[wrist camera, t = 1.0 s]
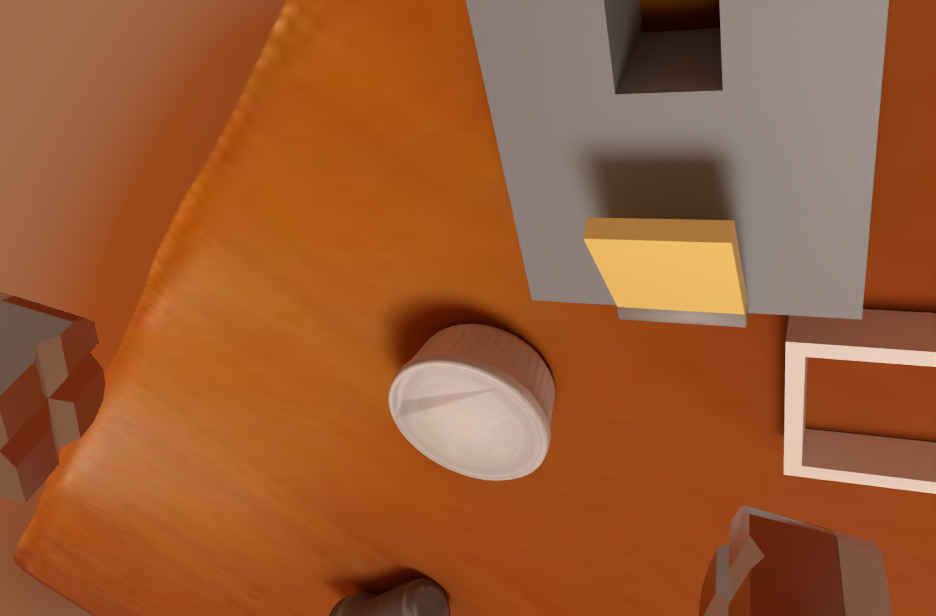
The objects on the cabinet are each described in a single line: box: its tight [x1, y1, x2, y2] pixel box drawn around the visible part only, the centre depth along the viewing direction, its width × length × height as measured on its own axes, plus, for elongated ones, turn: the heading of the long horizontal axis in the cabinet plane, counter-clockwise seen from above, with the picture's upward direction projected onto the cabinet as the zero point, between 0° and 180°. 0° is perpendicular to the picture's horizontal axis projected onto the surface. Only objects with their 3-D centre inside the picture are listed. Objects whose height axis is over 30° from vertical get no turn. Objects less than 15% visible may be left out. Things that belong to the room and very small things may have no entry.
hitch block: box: [466, 0, 889, 320], centre depth 39 cm, size 16×20×6 cm
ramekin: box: [388, 324, 555, 480], centre depth 59 cm, size 11×11×5 cm
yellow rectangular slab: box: [583, 218, 748, 327], centre depth 39 cm, size 6×9×1 cm
